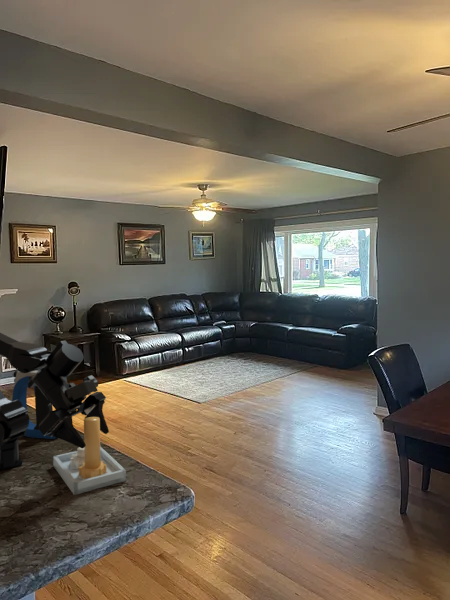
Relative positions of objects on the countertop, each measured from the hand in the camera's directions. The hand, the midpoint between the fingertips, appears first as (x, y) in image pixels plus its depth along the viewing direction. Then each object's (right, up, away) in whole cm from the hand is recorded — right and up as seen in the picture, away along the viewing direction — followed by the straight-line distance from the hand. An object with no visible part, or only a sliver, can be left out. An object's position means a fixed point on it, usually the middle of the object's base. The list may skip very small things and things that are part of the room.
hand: (96, 439), depth 108 cm
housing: (-3, -9, +4) cm, 11 cm away
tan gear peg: (-1, -8, +1) cm, 8 cm away
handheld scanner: (-24, -8, +29) cm, 39 cm away
